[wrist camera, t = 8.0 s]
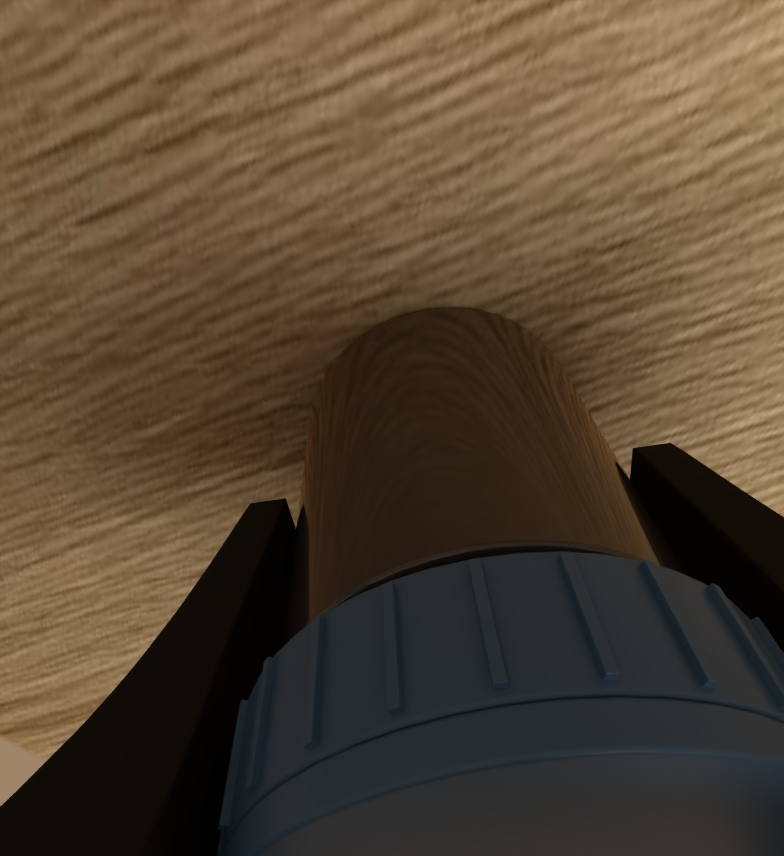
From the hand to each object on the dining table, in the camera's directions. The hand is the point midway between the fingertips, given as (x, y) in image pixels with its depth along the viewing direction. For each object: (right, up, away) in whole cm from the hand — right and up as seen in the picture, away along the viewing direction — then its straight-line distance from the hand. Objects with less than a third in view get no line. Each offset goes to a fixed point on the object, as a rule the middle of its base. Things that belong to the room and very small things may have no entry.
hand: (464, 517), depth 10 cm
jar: (0, +2, +2) cm, 3 cm away
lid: (0, -3, -4) cm, 5 cm away
